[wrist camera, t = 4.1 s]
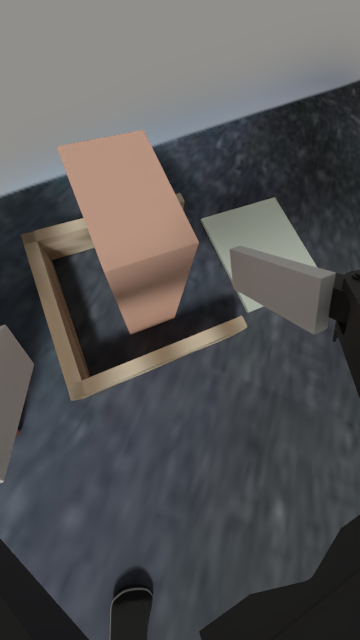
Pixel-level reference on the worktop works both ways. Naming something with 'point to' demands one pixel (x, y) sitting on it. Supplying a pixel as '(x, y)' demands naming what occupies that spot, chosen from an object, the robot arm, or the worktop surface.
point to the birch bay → (79, 383)
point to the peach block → (133, 224)
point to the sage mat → (255, 236)
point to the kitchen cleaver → (130, 613)
